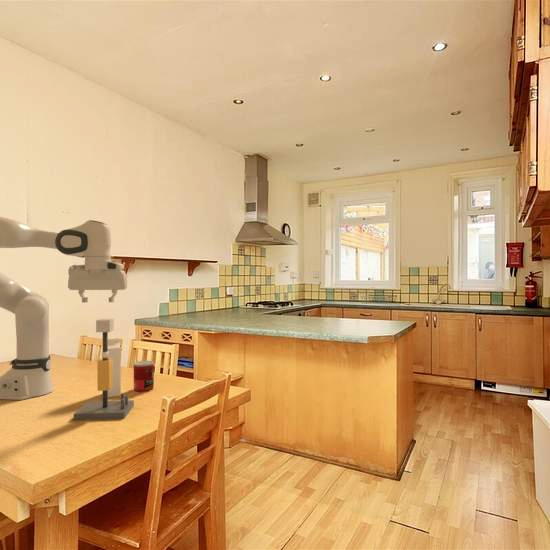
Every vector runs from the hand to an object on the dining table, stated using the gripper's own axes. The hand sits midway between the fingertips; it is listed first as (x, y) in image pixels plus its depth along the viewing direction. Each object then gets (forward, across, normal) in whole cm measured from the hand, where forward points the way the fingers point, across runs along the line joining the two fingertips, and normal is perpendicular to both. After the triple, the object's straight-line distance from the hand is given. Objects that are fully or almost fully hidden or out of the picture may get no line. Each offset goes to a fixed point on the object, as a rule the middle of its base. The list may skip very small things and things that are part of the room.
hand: (98, 302), depth 143 cm
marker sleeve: (+29, +6, -11) cm, 32 cm away
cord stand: (+37, +6, -11) cm, 39 cm away
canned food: (+37, +13, +15) cm, 42 cm away
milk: (+37, +2, +9) cm, 38 cm away
